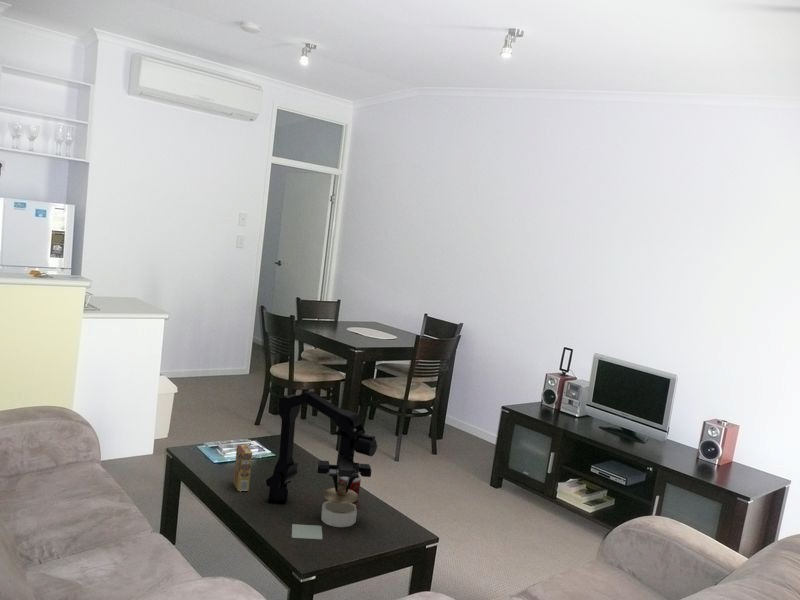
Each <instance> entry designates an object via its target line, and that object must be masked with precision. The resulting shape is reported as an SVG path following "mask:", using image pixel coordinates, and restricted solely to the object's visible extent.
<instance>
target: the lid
mask: <svg viewBox="0 0 800 600" xmlns="http://www.w3.org/2000/svg"><path fill="white" fill-rule="evenodd" d="M346 487H347V483H345V482H339V481H337V492H336V491H335V487H331V488H327V489H325V490H324V492H323V497H324V499H325V500H327V501H331V502H335V503H342V504H347V503H353V502H355V501H357V499H358V500H359V497H358V494H357V493H356V492H354V491H352V490H348V492H347V493H346Z"/></svg>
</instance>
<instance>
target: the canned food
mask: <svg viewBox="0 0 800 600" xmlns="http://www.w3.org/2000/svg"><path fill="white" fill-rule="evenodd" d="M347 481H348V477H340V476H339V480H338V482H345V483H347ZM361 481H362V478H361V476H359V478H356V479H354V481H353V482H352V484H351V486H350V488H349V490H352V491H354V492H356V493H357V494H358V499H357V501H355V502H353V503H352V504H354V505H356V508H357V506H358V505H359V495H360V488H361Z"/></svg>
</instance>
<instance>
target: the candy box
mask: <svg viewBox="0 0 800 600" xmlns="http://www.w3.org/2000/svg"><path fill="white" fill-rule="evenodd" d="M235 450H236V453H235V464H234V474H233V485H234V488H237V489H236V491H237V490H238V491H240V492H239V493H242V492H241V491H248V492H249V490H250V480H251V472H252V471H251V469H252V460H253V452H252V450H251V449H250V447H249V446H248V445H247V444H241V445H240V444H239V445H236V449H235ZM238 491H237V492H238Z"/></svg>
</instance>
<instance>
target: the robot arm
mask: <svg viewBox="0 0 800 600" xmlns="http://www.w3.org/2000/svg"><path fill="white" fill-rule="evenodd" d="M305 404H306V405H308V406H309V407H311V408H313V409H315V410H316V411H318V412H320V414H322V415H324V416H326V417H327V418H329V419H331V420H332V421H333V423H334V424H335V426H337V428H339V429H338V430H337V431H335V432H334V435H336V436H339V441H338V450H337V458H336V464H332V463H331V464H330V461H329V460H318V461H317V465H316V473H317V474H324V475H327V474H328V476H329V477H331V478H332V480H333V484H334V488H335V491H336V492H337V486H338V477H339V478H340V477H348V481H347V487H346V493H347V492H348V490H349V488H350V486H351V484H352V482H353V481H354V479H356V478H359V477H365V478H366V477H367V478H371V477H372V467H371V465H370V463H360V462H354V457H355V453H357V454H360V455H364V456H367V457H373V456H374V455H375V454H376V451H377V448H378V444H377V443H378V442H377V440H376V436H374V435H368V434H366V431H365V427H364V426H363V424H362V421H361V417H360V415H359V414H358V413H356V412H354V411H351V410H349V409H343V408H340V407H338V406H336V405H335V404H334V403H332V402H330V401H328V400H326V399H325V398H323V397H322V396H320V395H318V394H317V393H316V392H315V391H314V390H313V391H312V390H308V391H307V390H306V391H303V392H302V393H300V394H298V395H297V394H290V395H286V396H283V397H281V398H280V399H279V400H278V402H277V409H278V411H277V412H278V415H279V417H280V419H281V425H280V439H279V450H278V451H279V452H278V455H279V456H278V460H277V462H276V463H275V465H274V468H273V472H272V475H271V476H270V477H269V478H268V477H267V479H266V480H265V482H266V483H265V484H266V487H269V489H268V497H267V504H276V505H280V504H281V505H286V504H287V502H288V497H289V496H288V494H289V487H288V484H290V483H291V481H292V480H294V479H295V477H296V476H297V474H298V463H297V462H294V458H293V453H294V443H295V442H294V440H295V439H294V438H295V430H296V429H295V427H296V419H297V417H298V415H299V414H300V410H301V406H302V405H305ZM354 430H355V431H354ZM359 475H360V476H359Z"/></svg>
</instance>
